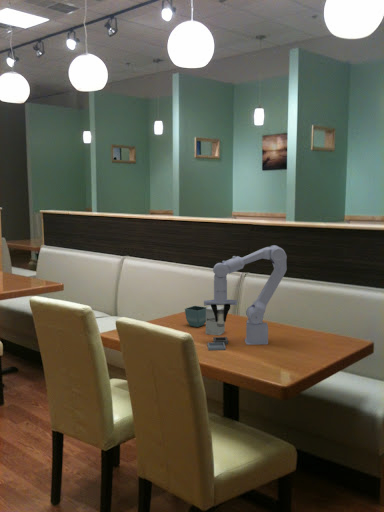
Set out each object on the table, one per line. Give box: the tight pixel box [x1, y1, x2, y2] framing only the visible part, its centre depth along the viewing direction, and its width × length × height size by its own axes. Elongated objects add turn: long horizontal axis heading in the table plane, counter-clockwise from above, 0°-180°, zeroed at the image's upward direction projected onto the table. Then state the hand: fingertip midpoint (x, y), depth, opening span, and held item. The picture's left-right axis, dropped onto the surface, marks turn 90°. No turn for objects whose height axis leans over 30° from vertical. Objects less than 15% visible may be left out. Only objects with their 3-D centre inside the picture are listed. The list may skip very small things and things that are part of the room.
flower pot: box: [184, 305, 208, 328], centre depth 264 cm, size 9×9×9 cm
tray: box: [206, 342, 227, 351], centre depth 227 cm, size 7×7×2 cm
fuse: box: [217, 310, 224, 327], centre depth 233 cm, size 3×3×7 cm
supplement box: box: [205, 305, 226, 336], centre depth 250 cm, size 7×7×13 cm
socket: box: [212, 336, 229, 346], centre depth 234 cm, size 6×6×2 cm
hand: (220, 321), depth 233 cm, fingers closed on fuse, 3 cm apart
